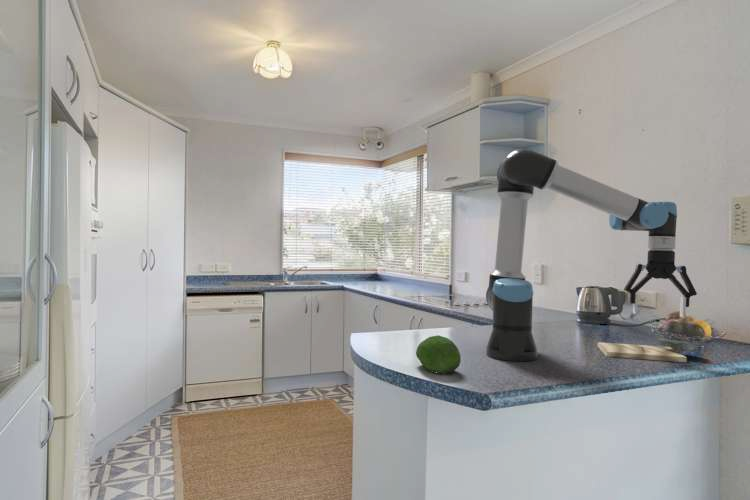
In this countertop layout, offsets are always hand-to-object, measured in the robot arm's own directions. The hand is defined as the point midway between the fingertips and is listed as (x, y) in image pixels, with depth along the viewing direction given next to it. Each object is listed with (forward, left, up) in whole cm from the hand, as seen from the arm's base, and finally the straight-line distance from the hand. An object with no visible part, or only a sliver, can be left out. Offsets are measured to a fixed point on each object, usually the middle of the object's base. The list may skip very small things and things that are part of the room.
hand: (658, 315), depth 152 cm
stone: (+1, -1, -8) cm, 8 cm away
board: (-6, -1, -13) cm, 14 cm away
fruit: (-65, -46, -13) cm, 81 cm away
